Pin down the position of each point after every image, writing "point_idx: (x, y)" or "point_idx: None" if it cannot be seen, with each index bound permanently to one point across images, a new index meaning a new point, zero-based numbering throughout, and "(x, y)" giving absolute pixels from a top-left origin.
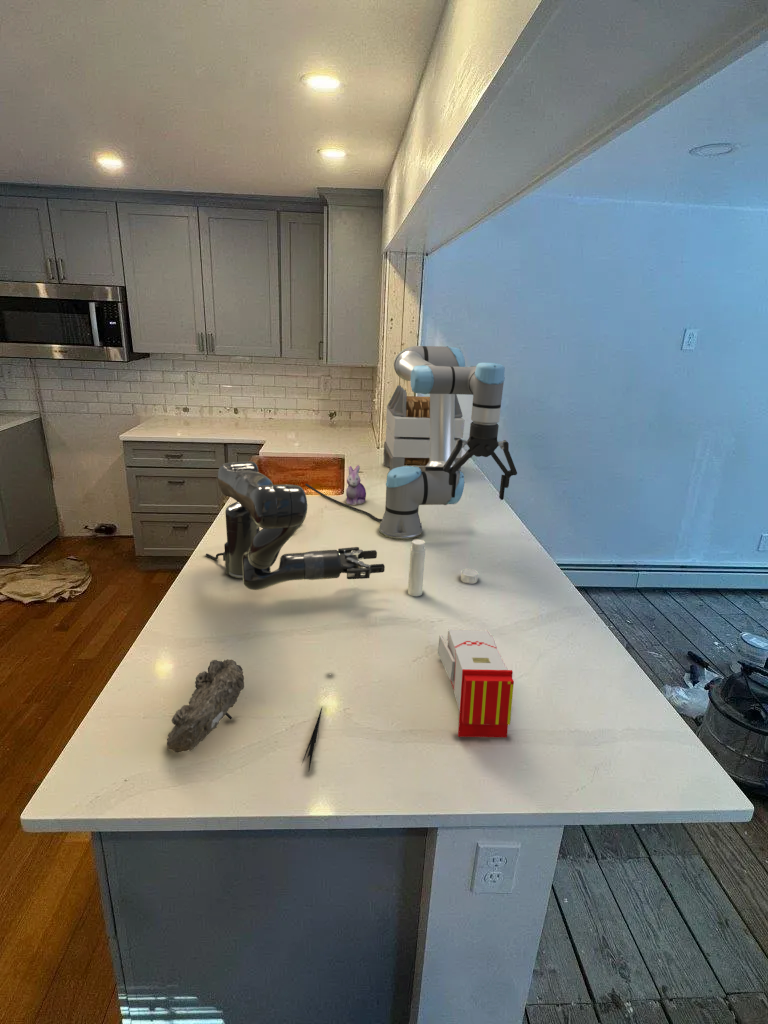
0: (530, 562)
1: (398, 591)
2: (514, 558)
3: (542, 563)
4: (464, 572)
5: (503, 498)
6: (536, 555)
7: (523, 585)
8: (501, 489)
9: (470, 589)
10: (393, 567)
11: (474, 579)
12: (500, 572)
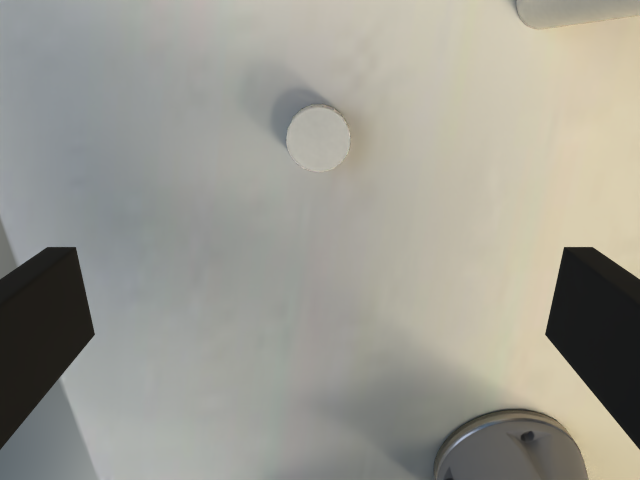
0: None
1: None
2: (139, 321)
3: None
4: (339, 138)
5: (38, 253)
6: None
7: (118, 111)
8: (12, 324)
9: (322, 54)
10: (581, 208)
11: (302, 110)
12: (196, 209)
